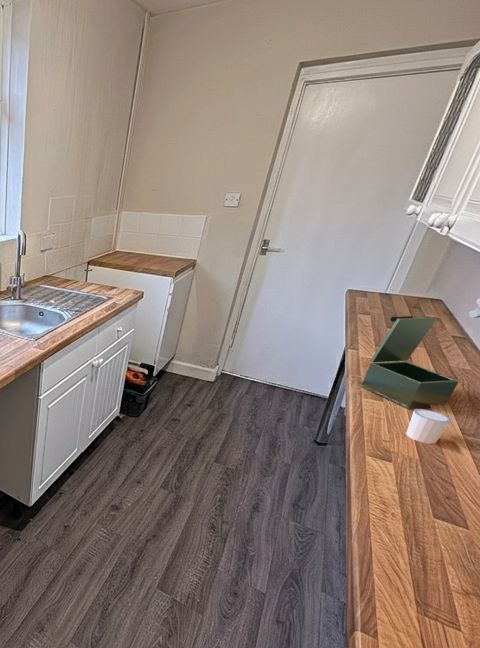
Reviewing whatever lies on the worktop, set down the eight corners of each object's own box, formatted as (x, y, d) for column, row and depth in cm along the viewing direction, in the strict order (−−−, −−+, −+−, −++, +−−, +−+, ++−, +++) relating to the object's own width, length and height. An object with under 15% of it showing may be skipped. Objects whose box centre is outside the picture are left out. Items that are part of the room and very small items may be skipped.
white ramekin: (443, 440, 108) (455, 417, 106) (434, 448, 105) (446, 425, 103) (408, 427, 114) (418, 406, 111) (398, 435, 111) (409, 412, 108)
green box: (445, 407, 124) (458, 381, 121) (407, 409, 123) (420, 383, 120) (394, 385, 138) (405, 361, 134) (360, 387, 136) (370, 362, 133)
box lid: (436, 318, 125) (420, 311, 129) (399, 319, 124) (384, 312, 128) (407, 360, 134) (393, 353, 138) (372, 362, 132) (359, 354, 136)
